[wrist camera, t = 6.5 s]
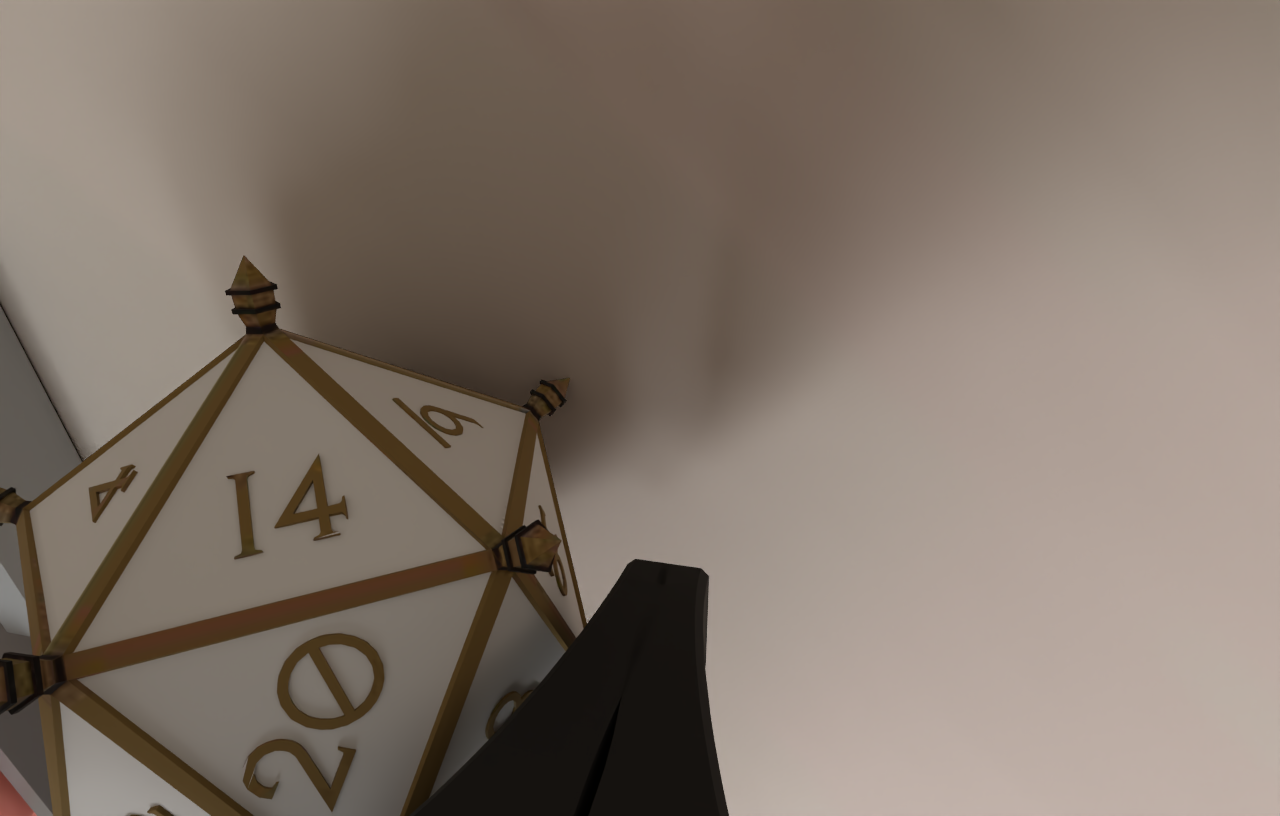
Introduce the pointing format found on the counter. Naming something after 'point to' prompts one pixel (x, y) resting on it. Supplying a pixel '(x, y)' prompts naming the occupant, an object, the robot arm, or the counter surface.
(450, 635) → the game die
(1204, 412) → the counter surface
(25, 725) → the dome housing
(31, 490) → the bar
